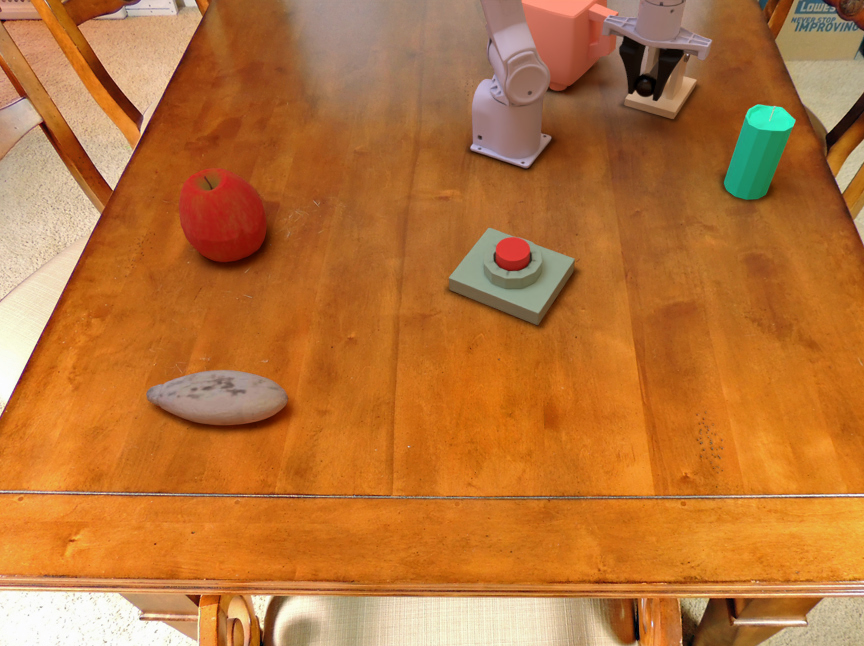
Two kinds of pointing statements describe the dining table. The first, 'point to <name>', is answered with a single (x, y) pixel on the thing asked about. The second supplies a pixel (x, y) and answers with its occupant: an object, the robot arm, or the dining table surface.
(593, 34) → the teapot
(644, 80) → the lever
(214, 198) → the apple
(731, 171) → the candle
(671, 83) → the bracket
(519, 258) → the button
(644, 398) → the dining table surface
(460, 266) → the button block
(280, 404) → the decorative stone
